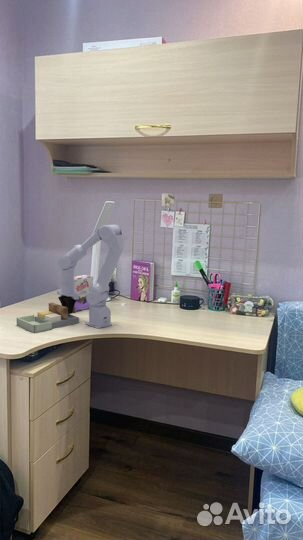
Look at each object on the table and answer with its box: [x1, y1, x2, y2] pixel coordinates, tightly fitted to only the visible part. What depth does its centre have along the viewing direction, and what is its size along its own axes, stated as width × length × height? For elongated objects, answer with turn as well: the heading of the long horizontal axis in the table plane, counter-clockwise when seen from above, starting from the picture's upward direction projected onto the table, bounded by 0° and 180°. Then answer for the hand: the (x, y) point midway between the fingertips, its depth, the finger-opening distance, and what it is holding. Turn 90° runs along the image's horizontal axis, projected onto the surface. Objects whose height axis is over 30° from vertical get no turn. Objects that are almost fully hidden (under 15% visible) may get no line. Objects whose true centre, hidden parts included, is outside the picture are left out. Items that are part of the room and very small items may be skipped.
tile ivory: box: [45, 313, 61, 322], centre depth 182 cm, size 5×5×2 cm
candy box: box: [74, 274, 94, 313], centre depth 210 cm, size 14×6×16 cm, turn 143°
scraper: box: [48, 302, 76, 318], centre depth 190 cm, size 12×9×4 cm
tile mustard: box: [36, 310, 54, 319], centre depth 187 cm, size 5×5×2 cm
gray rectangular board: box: [16, 314, 80, 334], centre depth 185 cm, size 15×22×3 cm
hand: (67, 312), depth 191 cm, fingers closed on scraper, 3 cm apart
